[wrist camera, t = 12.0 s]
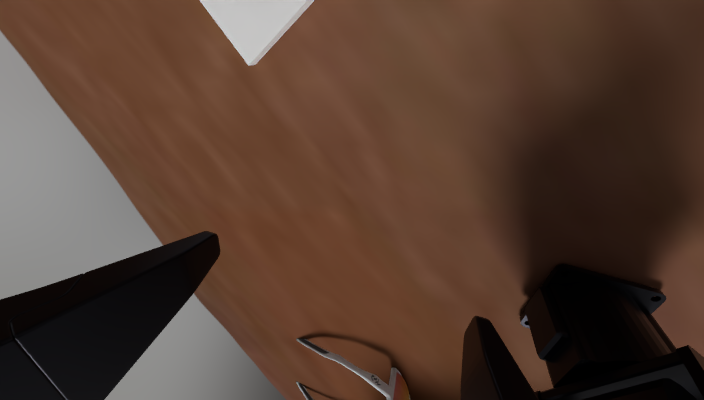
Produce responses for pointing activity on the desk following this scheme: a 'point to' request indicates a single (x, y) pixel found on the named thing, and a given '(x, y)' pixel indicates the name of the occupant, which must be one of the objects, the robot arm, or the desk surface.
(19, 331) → the robot arm
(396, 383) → the sunglasses
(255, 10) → the white block board
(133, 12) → the desk surface
